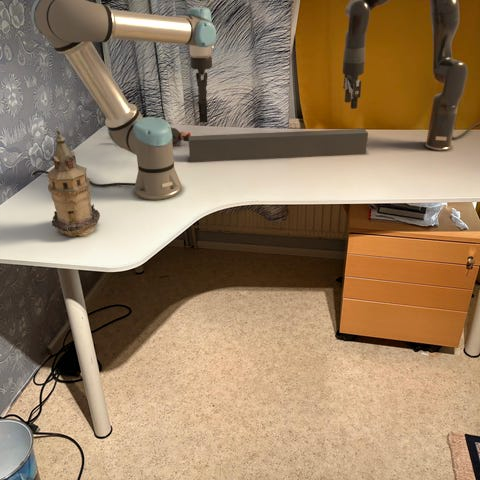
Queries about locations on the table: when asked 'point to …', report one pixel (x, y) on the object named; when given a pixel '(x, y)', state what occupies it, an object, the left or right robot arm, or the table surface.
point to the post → (277, 145)
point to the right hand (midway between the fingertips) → (350, 105)
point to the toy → (179, 136)
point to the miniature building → (70, 193)
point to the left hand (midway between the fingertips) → (202, 116)
